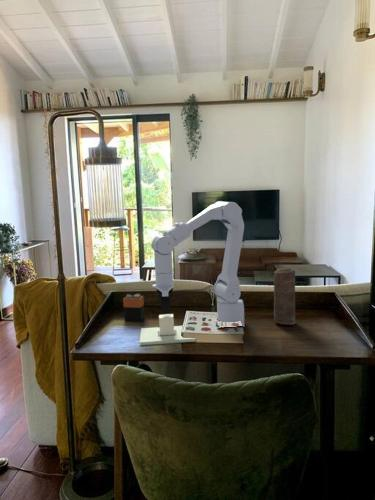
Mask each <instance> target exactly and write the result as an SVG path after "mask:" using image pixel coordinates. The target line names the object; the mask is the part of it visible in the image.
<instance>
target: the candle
mask: <svg viewBox="0 0 375 500" xmlns="http://www.w3.org/2000/svg"><path fill="white" fill-rule="evenodd" d="M273 321H274V322H275V323H277V324H280V325H291V326H292V325H296V270H295V269H294V268H282V267H281V268H278V269H277V270H274V272H273Z"/></svg>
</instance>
